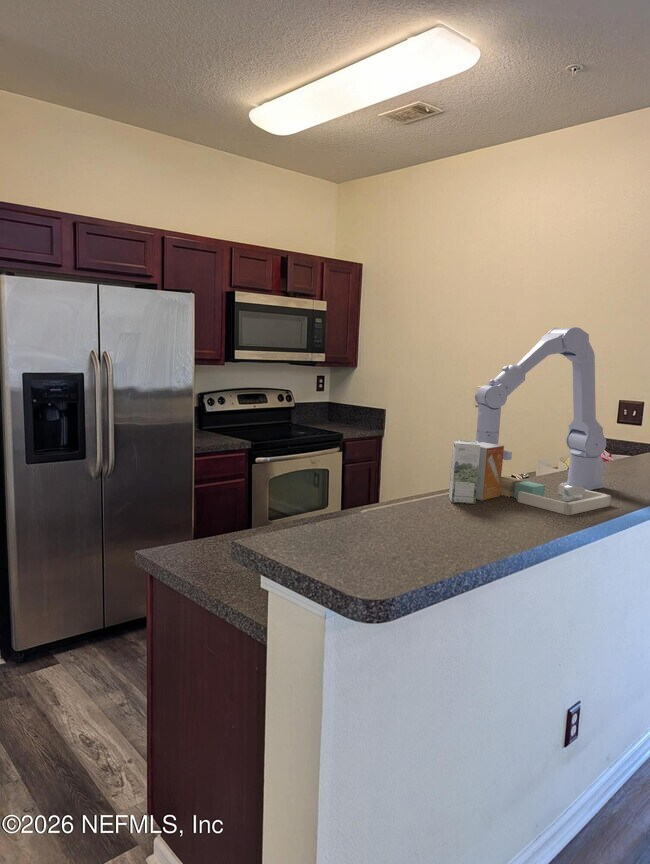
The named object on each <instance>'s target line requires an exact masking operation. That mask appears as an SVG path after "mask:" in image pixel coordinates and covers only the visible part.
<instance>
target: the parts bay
mask: <svg viewBox="0 0 650 864" xmlns="http://www.w3.org/2000/svg"><path fill="white" fill-rule="evenodd" d="M562 493H563V484H561V483H560V484H558V488H557V495H560V496H562ZM517 503H521V504H525V505H528V506H532V507H536V508H539V509H543V510H546V511H551V512H554V513H557V514H562V515H565V516H572V515H575V514H576V515H577V514H579V513H584V512H589V511H593V510H597V509H598V510H599V509H602V508H607V507H610V506H611V504H612V495H610V494H606V493H602V492H597V491H593V490H585V495H584V499H583V500H578V501H573V502H568V503H567V502H563V501H562V500H559V499H554V498H551V497H546V496H544V497H543V496H539V495H535V494H531V493H527V492H523V491H520V492H518V499H517Z"/></svg>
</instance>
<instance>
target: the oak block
mask: <svg viewBox="0 0 650 864" xmlns="http://www.w3.org/2000/svg"><path fill="white" fill-rule="evenodd" d="M520 482H523V479H519V478H515V477H511V476H507V475H504V476H501V484H500V495H499V496H503V495H505V496H504V497H507V496H508V497H507V498H511V497H510V496H512V497H514V493H515V483H520Z"/></svg>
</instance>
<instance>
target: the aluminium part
mask: <svg viewBox="0 0 650 864" xmlns="http://www.w3.org/2000/svg"><path fill="white" fill-rule="evenodd" d="M584 495H585V487H584V486H582V485H577V484H563V493H562V495H561V501H563V502H567V503H568V502H573V501H578V500H583V499H584Z"/></svg>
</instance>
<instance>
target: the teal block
mask: <svg viewBox="0 0 650 864" xmlns="http://www.w3.org/2000/svg"><path fill="white" fill-rule="evenodd" d="M545 490H546V485H545V484H541V483H537V482H532V481H527V480H526V481H522V482H520V483H515V493H514V496H513V499H514V498H516V499H515V500H518V492H520V491H523V492H527V493H531V494H535V495H539V496H543V497H545V493H546V492H545Z"/></svg>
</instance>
